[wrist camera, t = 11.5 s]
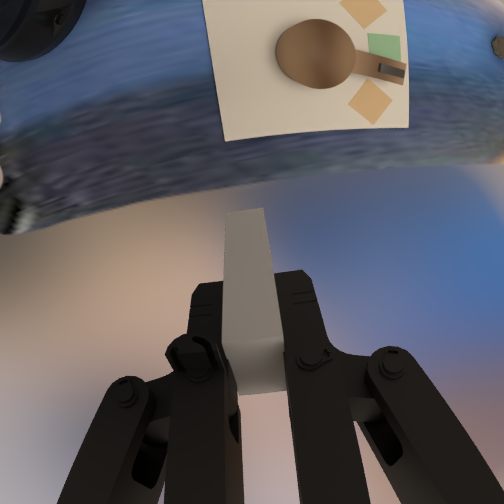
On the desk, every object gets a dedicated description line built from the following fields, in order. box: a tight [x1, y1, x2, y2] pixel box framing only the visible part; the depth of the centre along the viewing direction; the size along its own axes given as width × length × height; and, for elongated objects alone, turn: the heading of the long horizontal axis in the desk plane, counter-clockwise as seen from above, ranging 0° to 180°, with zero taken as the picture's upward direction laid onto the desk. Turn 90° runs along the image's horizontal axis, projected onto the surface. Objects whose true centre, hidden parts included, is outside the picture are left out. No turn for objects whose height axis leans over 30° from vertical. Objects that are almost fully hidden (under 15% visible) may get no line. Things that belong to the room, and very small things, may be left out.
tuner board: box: [202, 0, 409, 141], centre depth 28 cm, size 18×22×1 cm
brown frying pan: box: [275, 19, 407, 89], centre depth 26 cm, size 13×7×5 cm, turn 85°
